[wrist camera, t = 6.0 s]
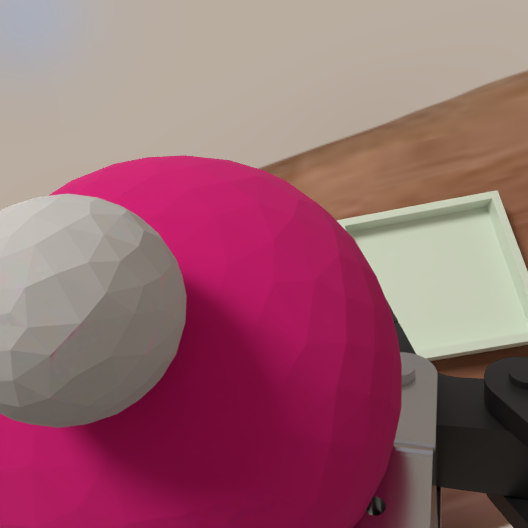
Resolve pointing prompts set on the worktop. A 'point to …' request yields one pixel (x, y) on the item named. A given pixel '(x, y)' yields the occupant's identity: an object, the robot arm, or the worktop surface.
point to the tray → (449, 274)
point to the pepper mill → (190, 355)
